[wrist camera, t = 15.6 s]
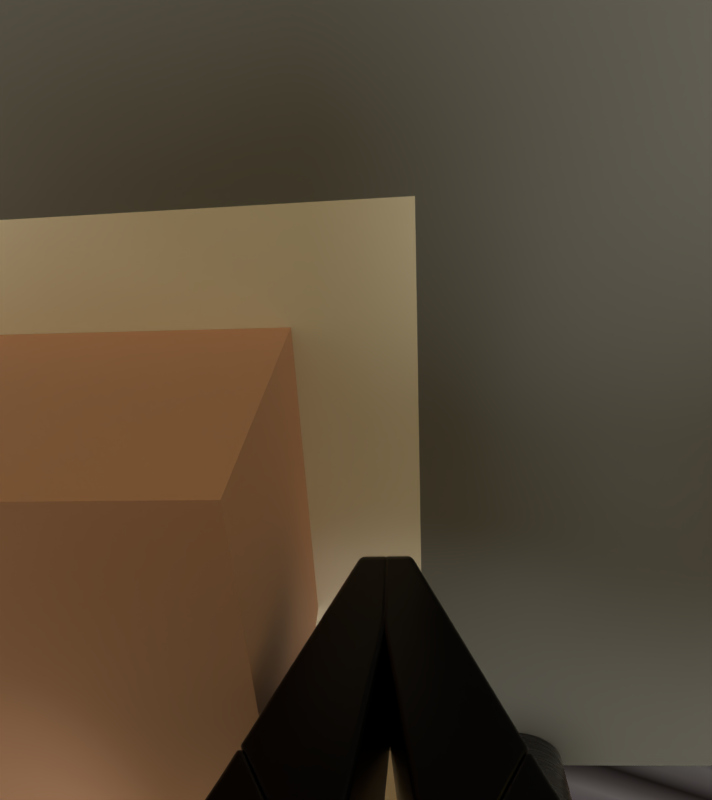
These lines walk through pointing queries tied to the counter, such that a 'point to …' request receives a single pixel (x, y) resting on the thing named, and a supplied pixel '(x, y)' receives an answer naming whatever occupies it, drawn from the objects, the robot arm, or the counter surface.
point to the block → (146, 556)
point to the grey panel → (422, 297)
